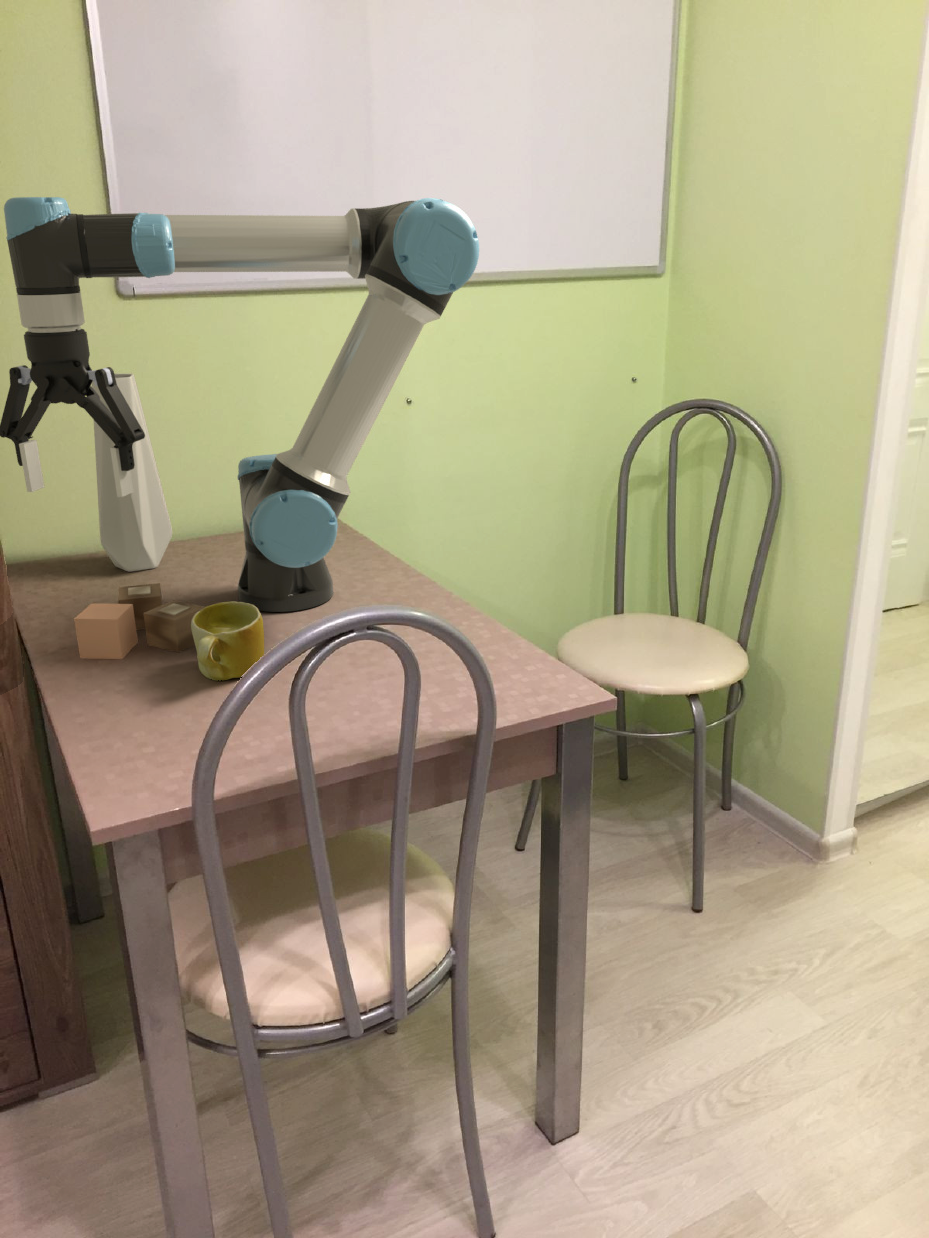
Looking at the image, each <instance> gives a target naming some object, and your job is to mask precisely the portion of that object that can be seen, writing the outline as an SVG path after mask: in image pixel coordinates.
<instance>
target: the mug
mask: <svg viewBox="0 0 929 1238" xmlns="http://www.w3.org/2000/svg"><path fill="white" fill-rule="evenodd" d="M204 607H205V608H203V609H201V610H200V611H198V612H197V613H196V614H195V615H194V616H193V618H192V621H191V629H192V635H193V638H194V643H195V645H194V646H195V649H196V654H197V657H196V659H197V663H198V669H199V672H201V674H202V675H203V676H204V677H205V678H207V679H209V680H211V679H212V681H218V680H219V682H221V680H222V681H227V680H230V679H234V678H235V679H239V678H241V676H242V675H243V674H244V673H245V672H246V671H247V670H248V669H249V668H250V667H251V666H252V665H253V664H254V663H255V662H257V661H258V660H259V659H260V657H262V656H263V655H264V656H265V630H264V629H265V628H264V619H263V616H262V613H261V612H260V611H259V610H258V608H257V607H256V606H254V605H252V604H249V603H244V602H240V601H236V600H235V601H222V602H221V601H220V602H217V603H213V604H211V605H207V606H204Z"/></svg>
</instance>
